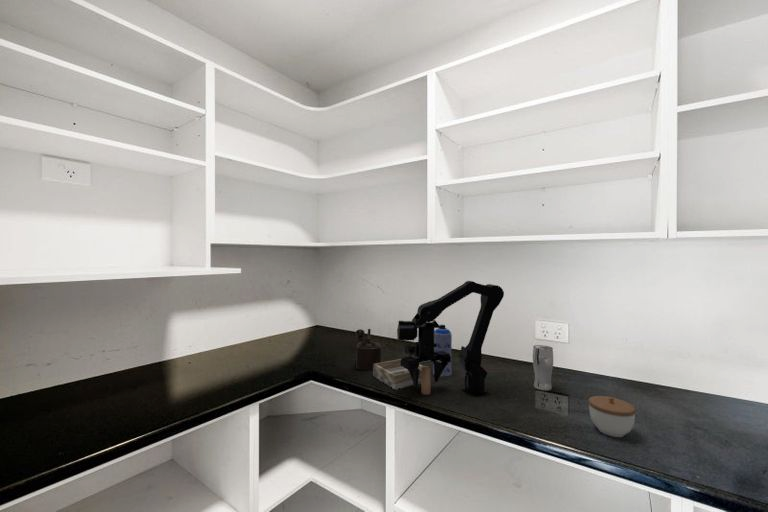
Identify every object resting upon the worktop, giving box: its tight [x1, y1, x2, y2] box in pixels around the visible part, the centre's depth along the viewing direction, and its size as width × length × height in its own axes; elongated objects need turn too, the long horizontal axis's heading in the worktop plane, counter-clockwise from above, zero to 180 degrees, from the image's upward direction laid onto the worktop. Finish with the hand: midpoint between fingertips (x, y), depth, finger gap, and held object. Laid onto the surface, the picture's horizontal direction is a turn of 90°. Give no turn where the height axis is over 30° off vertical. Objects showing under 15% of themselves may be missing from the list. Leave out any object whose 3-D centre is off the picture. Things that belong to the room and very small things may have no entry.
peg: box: [420, 365, 432, 396], centre depth 118 cm, size 3×3×9 cm
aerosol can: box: [432, 324, 453, 377], centre depth 139 cm, size 8×8×20 cm
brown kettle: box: [354, 328, 382, 371], centre depth 145 cm, size 16×11×18 cm
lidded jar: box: [588, 395, 636, 438], centre depth 92 cm, size 11×11×9 cm
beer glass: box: [532, 344, 554, 392], centre depth 124 cm, size 7×7×15 cm
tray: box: [372, 358, 423, 390], centre depth 132 cm, size 16×16×5 cm
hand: (426, 384), depth 118 cm, fingers open, 9 cm apart
